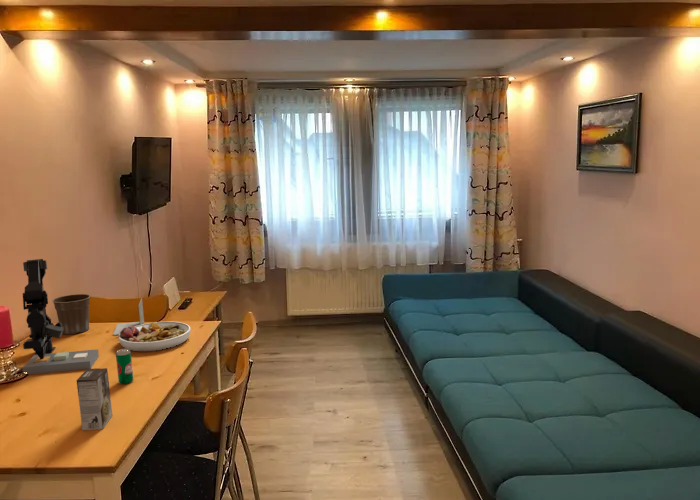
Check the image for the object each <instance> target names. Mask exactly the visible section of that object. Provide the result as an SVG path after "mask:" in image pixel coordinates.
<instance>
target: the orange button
mask: <svg viewBox="0 0 700 500" xmlns="http://www.w3.org/2000/svg"><path fill="white" fill-rule="evenodd" d="M49 359H50V356H47V357H44V359H40V358H39V357H38V358H37V359H36V360H35V361H34V362H46V361H48V360H49Z"/></svg>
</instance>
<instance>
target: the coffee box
mask: <svg viewBox="0 0 700 500" xmlns="http://www.w3.org/2000/svg"><path fill="white" fill-rule="evenodd" d="M76 388H77V389H76V390H77V395H78V396H77V397H78V405H79V413H80V414H79V415H80V422H81V423H80V424H81V429H82V430H81V431H93V430H94V431H96V430H104V428H106V425H108V424H107V423H109V421H110V419H112V417H113V408H112V399H111V389H110V382H109V373H108V368H107V367H106V368H104V367H103V368H100V367H99V368H97V367H96V368H95V367H94V368H91V369H85V371H83V373H82V374H81V375H80V376H79V377H78V378H77V379H76Z"/></svg>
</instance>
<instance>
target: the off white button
mask: <svg viewBox="0 0 700 500" xmlns="http://www.w3.org/2000/svg"><path fill="white" fill-rule="evenodd" d="M87 356H88V353H80V354H76V355H75V356H74V357H73V359H79V358H86V357H87Z"/></svg>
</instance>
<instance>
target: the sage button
mask: <svg viewBox="0 0 700 500" xmlns="http://www.w3.org/2000/svg"><path fill="white" fill-rule="evenodd" d="M69 352H70V351H63V353H62V352H55V353H56V355H55V356H54V361H57V360H67V359H68V357H69Z"/></svg>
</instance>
